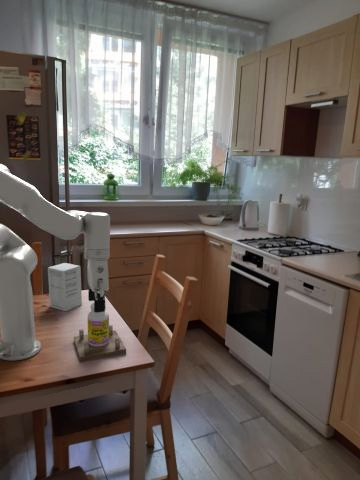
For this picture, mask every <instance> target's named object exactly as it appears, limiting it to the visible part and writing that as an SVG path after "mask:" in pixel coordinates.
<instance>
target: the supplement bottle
mask: <svg viewBox="0 0 360 480" xmlns="http://www.w3.org/2000/svg"><path fill="white" fill-rule="evenodd" d="M106 304H107V303H105V311H104V312H96V313H95V312H94V302H93V303H91V304H90V311H89V313H88V314H87V335H88V343H89V344H90V345H91V346H94V347H100V346H104V345H106V344H107V343H108V342H109V325H110V314H109V312H108V311H107V310H106V308H107V305H106Z"/></svg>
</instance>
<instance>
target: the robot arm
mask: <svg viewBox="0 0 360 480" xmlns="http://www.w3.org/2000/svg"><path fill="white" fill-rule="evenodd" d="M0 203H2V204H3V205H5V206H7V207H9V208H10V209H13V210H15V211H16V212H18V213H19V214H21V216H23V217H24V218H25V219H26V220H28V221H29V222H30V223H32V224H33V225H35V226H37V227H38V228H39V229H41V230H43V231H45V232H47V233H49V234H50V235H52V236H55V237H57V238H59V239H62V240H65V241H70V240H75V239H76V238H78V237H79V236H80V235H81V234H83V235H84V245H83V246H84V250H83V251H84V257H83V258H84V259H85V260H87V271H86V272H87V273H86V275H87V277H86V278H87V284H88V299H87V300H88V302H93V303H94V312H95V313H96V312H104V311H106V309H105V304H106V292H108V291H109V289H110V288H109V267H108V266H109V264H108V263H109V262H108V259H110V256H111V255H110V254H111V253H110V251H111V249H110V246H111V243H110V242H111V216H110V214H108V213H107V212H103V211H102V212H101V211H91V212H88V211H83V210H82V211H81V210H77V209H71V210H66V211H65V210H64V209H61V208H59V207H57V206H56V205H54V204H53V203H52V202H49V201H48V200H47V199H45V197H44V196H42V194H41V193H40V191H39V190H38V188H36V187H35V186H34V185H33V184H30V183H29V182H26V181H25V180H23V179H21V178H19V177H17V176H16V175H14V174H12V173H11V171H10V169H9V168H8V167H7V166H6V165H4V164H2V163H0ZM37 265H38V256H37V253H36V252H35V250H34V249H33V248H32V247H31V246H30V245H28V244H27V243H26V242H25V240H23V239H22V238H21V237H20V236H19V235H18V234H16V233H15V232H14V231H13V230H11V229H10V228H9V227H8V226H6V225H4V224H3V223H0V337H1V340H0V359H1V360H3V361H11V362H12V361H20V360H25V359H28V358H31V357H33V356H34V355H37V353H39V352H40V351H41V348H42V343H41V341H40V340H37V339H36V328H35V327H36V326H35V312H34V311H35V310H34V295H33V287H32V282H31V274H32V272H33V271H34V270H35V269H36V268H37ZM105 291H106V292H105Z"/></svg>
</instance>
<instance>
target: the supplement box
mask: <svg viewBox="0 0 360 480" xmlns="http://www.w3.org/2000/svg"><path fill="white" fill-rule="evenodd" d="M81 269H82V268H81V265H76V264H72V263H67V262H63V263H59V264H56V265H53V266H52V265H51V266H48V267H47V278H48V294H49V295H48V297H49V307H50V308H53V309H57V310H60V311H64V312H67V311H70V310H72V309H75V308H78V307H79V306H81V305H83V299H82V297H83V296H82V294H83V293H82V276H81V275H82V271H81Z"/></svg>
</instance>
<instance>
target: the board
mask: <svg viewBox="0 0 360 480" xmlns="http://www.w3.org/2000/svg"><path fill="white" fill-rule="evenodd" d="M84 332H85V329H83V328H81V329H79V331H78V335H77V336H73V343H74V346H75V350H76V352H77V355H78V358H79V362H80V363H83V362H87V361H93V360H97V359H98V360H99V359H104V358H108V357H109V358H110V357H115V356H120V355H121V356H122V355H125V354H127V348H126V346H125V344H124V343H123V341H122V340H121V338H120V336H119V334H118V332H117V330H114V327H113V324H109V342H108V343H107V344H106V345H104V346H100V347H94V346H91V345H90V344H89V343H88V334H84Z"/></svg>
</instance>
